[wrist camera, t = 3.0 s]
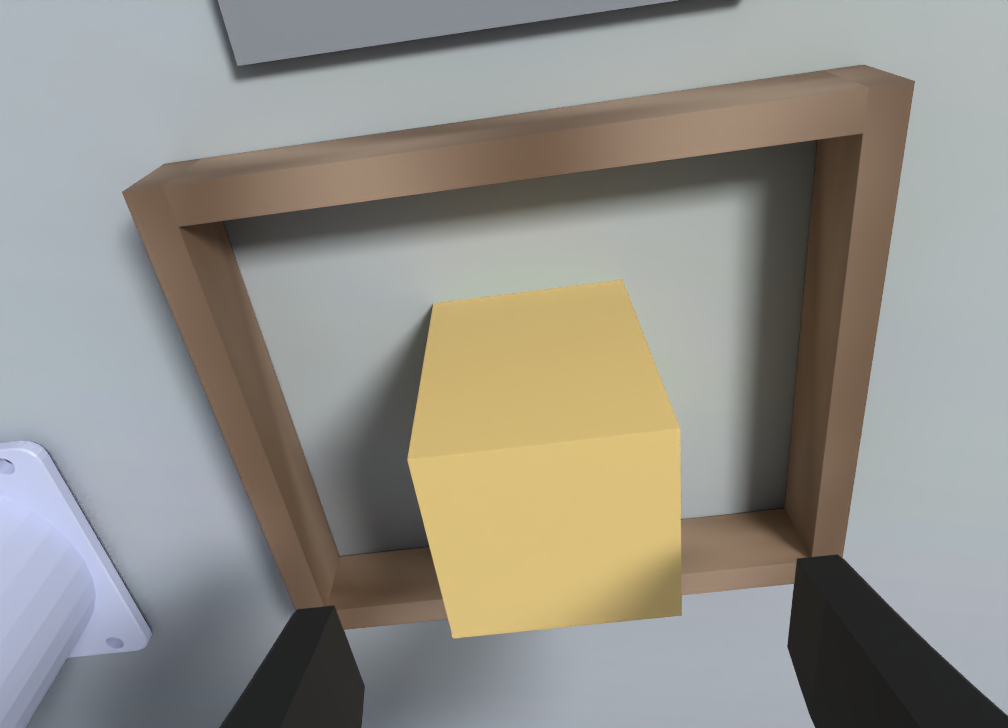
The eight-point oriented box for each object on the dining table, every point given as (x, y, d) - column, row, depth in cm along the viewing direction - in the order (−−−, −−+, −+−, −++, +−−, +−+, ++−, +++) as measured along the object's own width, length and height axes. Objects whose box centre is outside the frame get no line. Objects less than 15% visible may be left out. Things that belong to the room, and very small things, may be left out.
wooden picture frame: (320, 578, 21) (305, 633, 20) (164, 163, 15) (122, 192, 13) (810, 525, 21) (839, 578, 19) (863, 64, 14) (915, 80, 13)
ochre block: (463, 451, 19) (452, 638, 14) (433, 302, 17) (407, 459, 12) (630, 432, 19) (681, 615, 14) (622, 278, 17) (679, 428, 12)
